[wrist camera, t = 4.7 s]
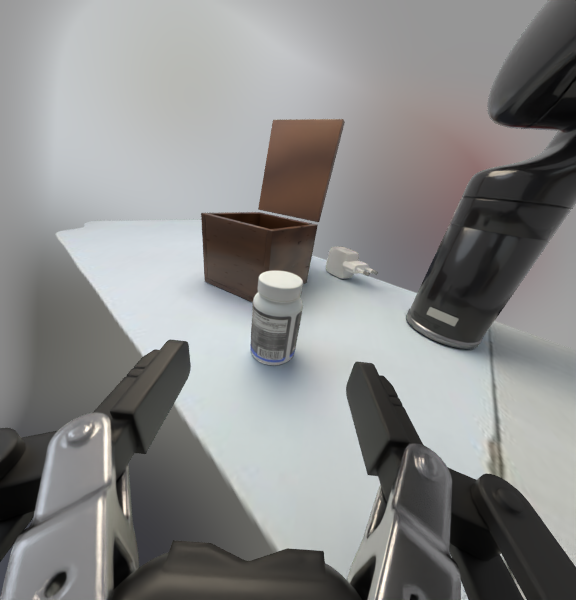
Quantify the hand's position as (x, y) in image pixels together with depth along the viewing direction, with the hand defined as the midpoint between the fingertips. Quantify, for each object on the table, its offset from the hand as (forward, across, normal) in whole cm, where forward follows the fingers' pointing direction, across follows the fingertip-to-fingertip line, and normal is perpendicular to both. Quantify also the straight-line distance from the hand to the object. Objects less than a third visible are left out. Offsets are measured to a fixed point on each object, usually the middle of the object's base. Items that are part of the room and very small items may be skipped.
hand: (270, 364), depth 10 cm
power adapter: (+35, -14, +8) cm, 39 cm away
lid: (+34, 0, -11) cm, 36 cm away
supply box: (+28, +4, +8) cm, 29 cm away
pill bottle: (+10, 0, +8) cm, 13 cm away
